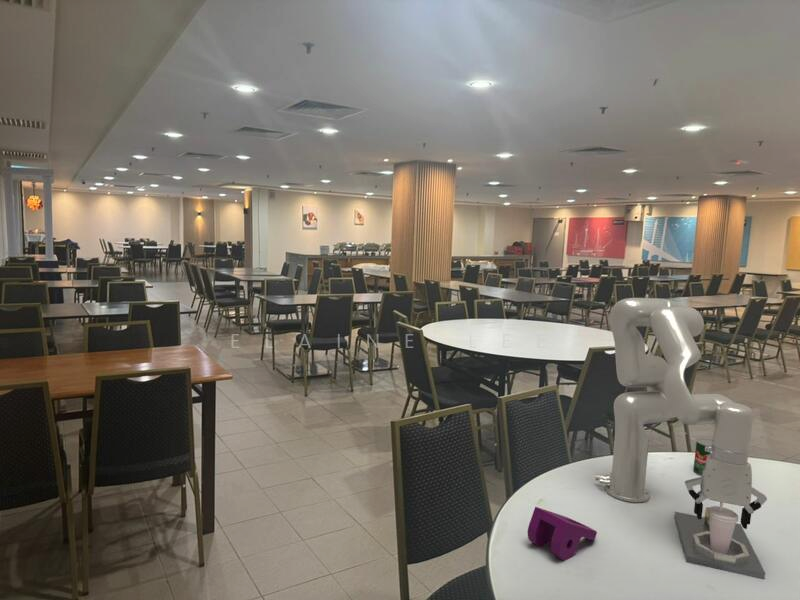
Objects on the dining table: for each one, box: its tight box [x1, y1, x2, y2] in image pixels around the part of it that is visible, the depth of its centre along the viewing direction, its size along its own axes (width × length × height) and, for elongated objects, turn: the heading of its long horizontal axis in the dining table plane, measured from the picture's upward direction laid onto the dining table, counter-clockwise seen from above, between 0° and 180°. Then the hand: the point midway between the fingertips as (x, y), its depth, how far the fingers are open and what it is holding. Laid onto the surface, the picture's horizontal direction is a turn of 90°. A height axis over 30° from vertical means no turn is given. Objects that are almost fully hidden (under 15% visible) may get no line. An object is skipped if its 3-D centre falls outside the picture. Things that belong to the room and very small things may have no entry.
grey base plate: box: [674, 507, 766, 580], centre depth 137 cm, size 16×24×6 cm, turn 159°
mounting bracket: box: [527, 506, 598, 562], centre depth 134 cm, size 10×8×18 cm
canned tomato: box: [693, 438, 713, 477], centre depth 182 cm, size 8×8×11 cm
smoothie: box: [708, 502, 739, 554], centre depth 131 cm, size 6×6×14 cm
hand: (720, 521), depth 132 cm, fingers open, 9 cm apart
